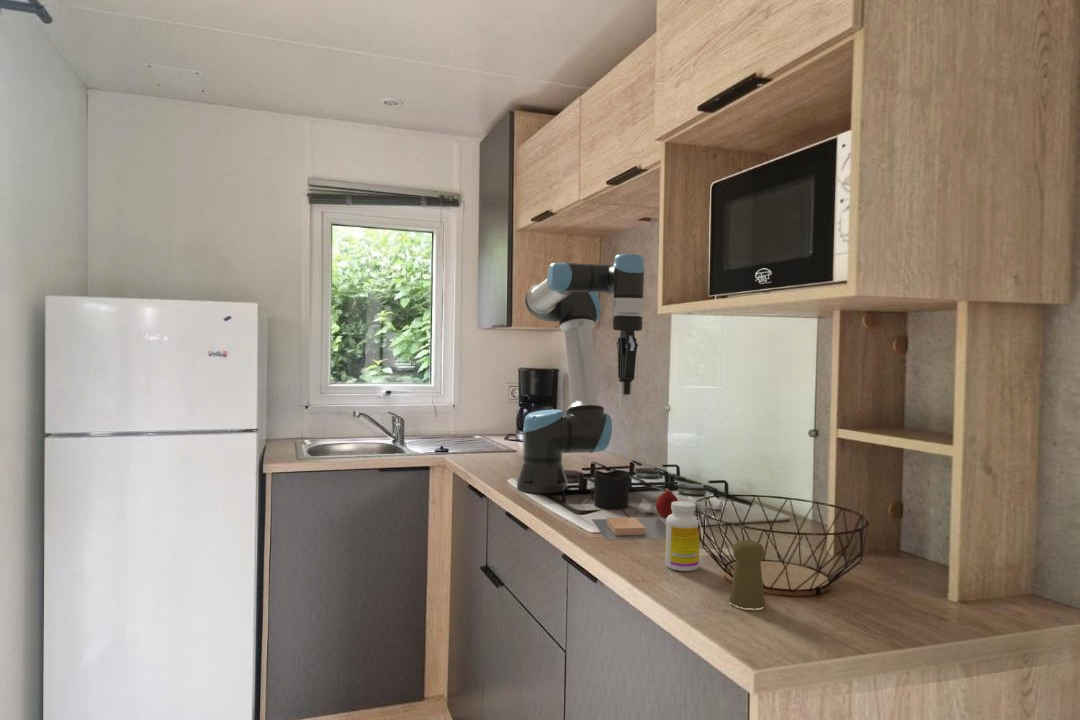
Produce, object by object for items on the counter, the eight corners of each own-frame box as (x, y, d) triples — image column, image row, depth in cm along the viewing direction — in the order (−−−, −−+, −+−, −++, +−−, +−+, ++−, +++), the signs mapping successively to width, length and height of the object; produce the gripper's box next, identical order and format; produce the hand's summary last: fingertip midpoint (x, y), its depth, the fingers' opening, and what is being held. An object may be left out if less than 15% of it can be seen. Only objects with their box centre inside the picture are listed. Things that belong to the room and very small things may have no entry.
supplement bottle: (705, 570, 138) (706, 506, 138) (675, 573, 136) (676, 508, 136) (688, 560, 145) (689, 498, 144) (659, 563, 143) (660, 500, 142)
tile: (606, 517, 166) (615, 528, 157) (635, 517, 167) (645, 527, 158) (606, 525, 166) (615, 536, 157) (635, 524, 167) (645, 535, 158)
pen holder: (621, 516, 179) (622, 477, 179) (587, 511, 184) (588, 473, 183) (633, 508, 188) (634, 471, 187) (601, 504, 192) (602, 468, 192)
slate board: (591, 524, 171) (591, 519, 171) (658, 523, 174) (658, 518, 173) (606, 544, 155) (606, 539, 155) (680, 543, 157) (681, 538, 157)
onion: (678, 517, 179) (678, 486, 179) (680, 523, 173) (681, 491, 173) (655, 516, 180) (655, 485, 179) (656, 522, 174) (657, 490, 174)
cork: (739, 612, 118) (740, 547, 118) (722, 598, 124) (724, 537, 123) (772, 610, 119) (773, 546, 119) (754, 596, 125) (756, 535, 125)
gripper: (608, 314, 185) (605, 403, 186) (618, 314, 172) (616, 409, 174) (636, 315, 186) (633, 403, 187) (648, 315, 173) (645, 410, 174)
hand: (625, 406), depth 180 cm, fingers closed
